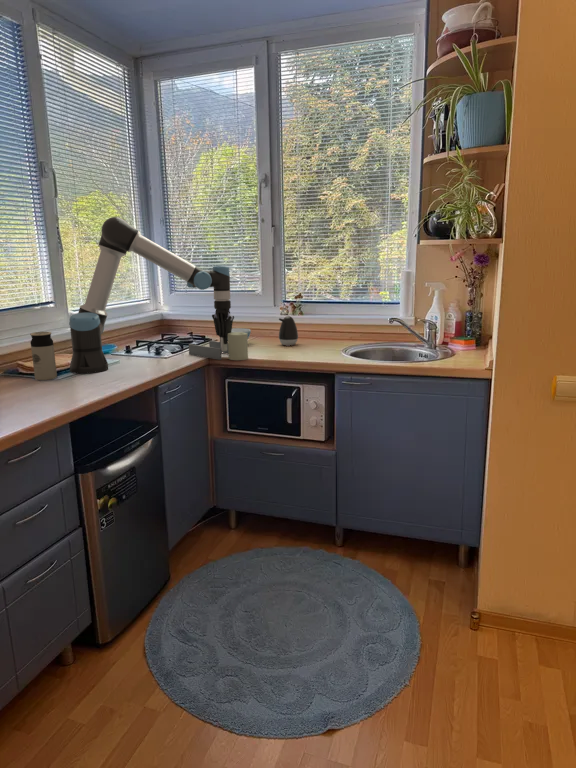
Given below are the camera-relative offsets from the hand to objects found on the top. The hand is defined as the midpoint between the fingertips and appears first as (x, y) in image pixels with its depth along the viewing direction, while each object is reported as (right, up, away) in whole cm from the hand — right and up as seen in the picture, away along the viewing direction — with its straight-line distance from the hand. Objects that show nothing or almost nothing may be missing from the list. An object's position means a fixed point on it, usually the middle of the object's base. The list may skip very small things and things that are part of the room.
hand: (224, 350), depth 252 cm
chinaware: (+3, +5, +34) cm, 35 cm away
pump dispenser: (+30, +5, +31) cm, 43 cm away
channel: (-5, -2, +5) cm, 7 cm away
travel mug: (-65, -14, -41) cm, 78 cm away
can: (+7, -4, -4) cm, 9 cm away
